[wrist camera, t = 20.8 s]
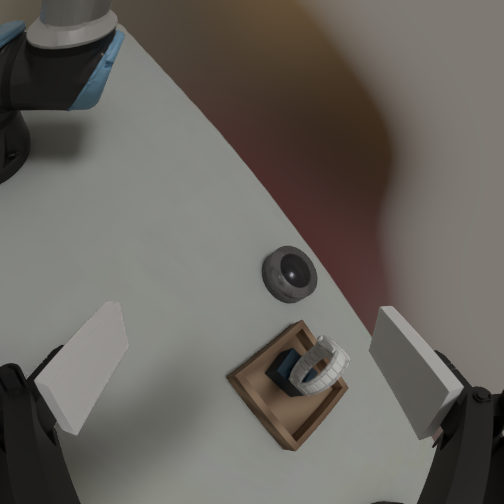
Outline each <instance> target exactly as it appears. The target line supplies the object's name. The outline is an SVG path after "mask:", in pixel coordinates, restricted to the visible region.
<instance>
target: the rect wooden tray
mask: <svg viewBox="0 0 504 504" xmlns="http://www.w3.org/2000/svg"><path fill="white" fill-rule="evenodd" d="M316 342H317V340H316V339H315V337H314V336H313V334H312V333H311V331H310V330H309V329H308V327H307V326H306V324H305V323H304V321H303V320H301V321H298V322H296V323H294V324H292V325H291V326H289V327H288V328H287V329H286V330H285V331H283V332H282V333H281V334H280V335H279V336H277V337H276V338H275V339H274V340H273V341H271V342H270V343H269V344H268V345H267V346H265V347H264V348H263V349H262V350H260V351H259V352H258V353H257V354H255V355H254V356H253V357H252V358H250V359H249V360H248V361H246V362H245V363H244V364H243V365H241V366H240V367H239V368H237V369H236V370H235V371H233V372H232V373H231V374H230V375H228V376H227V377H226V378H227V379H228V380H229V382H230V383H231V385H232V386H233V387H234V389H235V390H236V391H237V393H238V394H239V395H240V397H241V398H242V399H243V400H244V402H245V403H246V404H247V406H248V407H249V408H250V409H251V411H252V412H253V413H254V414H255V416H256V417H257V418H258V419H259V421H260V422H261V423H262V424H263V426H264V427H265V428H266V429H267V430H268V432H269V433H270V434H271V435H272V436H273V438H274V439H275V440H276V441H277V442H278V443H279V445H280V446H281V447H282V448H283V449H285V450H290V451H296V450H297V449H298V448H299V447H300V446H301V445H302V444H303V443H304V442H305V441H306V440H307V439H308V437H309V436H310V435H311V434H312V433H313V432H314V431H315V429H316V428H317V427H318V426H319V425H320V424H321V422H322V421H323V420H324V419H325V418H326V416H327V415H328V414H329V413H330V411H331V410H332V409H333V408H334V406H335V405H336V404H337V403H338V401H339V400H340V399H341V397H342V396H343V395H344V393H345V392H346V391H347V389H348V386H347V385H346V383H345V382H344V380H343V379H342V377H340V378H339V379H338V380H336V382H335V383H334V384H333V385H332V386H330V387H329V388H327V389H326V390H324V391H323V392H321V393H318V394H316V395H310V396H306V395H304V396H297V397H290V396H288V395H287V394H286V393H285V392H284V391H283V390H282V389H281V388H280V387H279V386H277V385H276V384H275V383H274V382H273V381H272V380H271V379H270V378H269V377H268V376H267V375H266V374H265V372H266V371H267V369H268V368H269V367H270V365H271V364H272V363H273V361H274V360H275V359H276V357H277V356H278V355H279V353H280V352H282V351H285V350H288V349H291V348H294V349H295V350H296V351H297V352H298V353H299V354H300V355H301V356H303V355H304V354H305V353H306V352H307V351H308V350H309V349H311V348H312V347H314V346H315V343H316ZM308 352H309V351H308ZM309 353H310V352H309ZM317 355H318V354H317ZM329 362H330V359H328V358H327V357H325V358H323V359H322V360H320V361H318V363H316V364H315V365H314V366H313V368H314V369H315V370H316V371H317V372H318V374H317V375H319V373H320V372H321V371H322V370H323V369H325V367H326V366H327V364H328V363H329ZM325 370H326V369H325ZM317 375H316V376H317Z"/></svg>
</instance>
